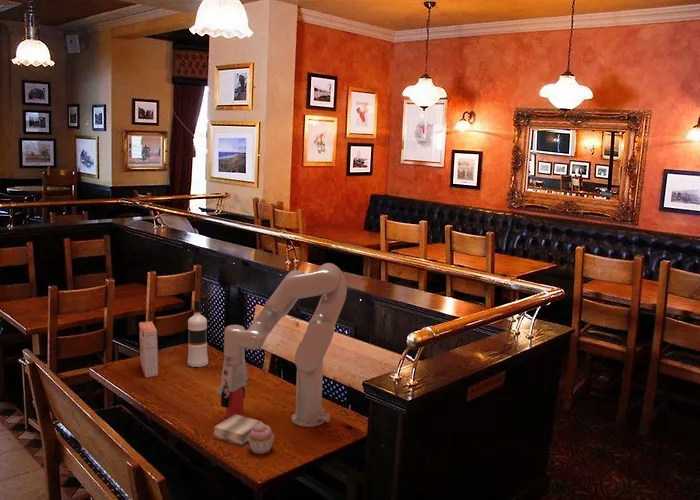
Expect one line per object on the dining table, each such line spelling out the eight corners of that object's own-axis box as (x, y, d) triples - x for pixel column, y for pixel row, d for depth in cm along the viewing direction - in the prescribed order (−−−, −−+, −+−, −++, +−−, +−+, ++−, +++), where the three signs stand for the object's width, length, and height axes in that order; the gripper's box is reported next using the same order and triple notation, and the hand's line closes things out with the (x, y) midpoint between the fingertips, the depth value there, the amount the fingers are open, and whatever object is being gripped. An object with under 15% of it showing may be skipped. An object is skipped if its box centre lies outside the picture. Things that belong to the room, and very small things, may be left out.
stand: (263, 431, 234) (263, 421, 234) (242, 446, 223) (242, 435, 223) (235, 423, 240) (235, 413, 239) (213, 437, 229) (213, 426, 228)
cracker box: (139, 367, 292) (138, 321, 288) (153, 365, 294) (152, 320, 290) (144, 378, 279) (142, 331, 275) (158, 376, 282) (157, 329, 278)
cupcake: (274, 442, 227) (274, 415, 225) (275, 456, 218) (275, 427, 216) (246, 443, 225) (246, 416, 223) (246, 457, 216) (246, 429, 214)
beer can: (239, 421, 242) (239, 390, 240) (222, 419, 243) (222, 388, 241) (246, 414, 248) (246, 384, 246) (229, 412, 249) (229, 382, 247)
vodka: (184, 367, 293) (183, 302, 288) (191, 360, 302) (190, 297, 297) (204, 368, 292) (204, 303, 287) (210, 361, 301) (210, 298, 296)
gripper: (227, 367, 232) (226, 413, 235) (256, 354, 247) (254, 396, 251) (210, 363, 236) (210, 408, 239) (240, 350, 251) (238, 392, 254)
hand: (232, 402), depth 245 cm, fingers open, 9 cm apart
